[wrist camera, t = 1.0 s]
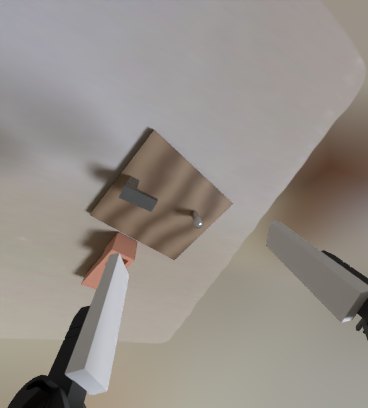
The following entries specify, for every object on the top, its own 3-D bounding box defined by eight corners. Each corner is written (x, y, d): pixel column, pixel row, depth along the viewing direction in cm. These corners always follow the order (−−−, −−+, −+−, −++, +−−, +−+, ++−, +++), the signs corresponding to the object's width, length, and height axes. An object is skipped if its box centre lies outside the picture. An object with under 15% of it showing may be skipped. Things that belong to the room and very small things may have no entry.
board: (91, 212, 33) (89, 214, 32) (154, 129, 28) (154, 129, 27) (173, 256, 43) (174, 260, 42) (230, 201, 38) (233, 203, 37)
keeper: (126, 183, 31) (118, 197, 25) (131, 173, 31) (124, 185, 24) (152, 196, 34) (151, 212, 27) (157, 187, 33) (157, 201, 26)
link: (102, 280, 42) (95, 301, 36) (83, 273, 40) (72, 295, 34) (137, 242, 38) (134, 259, 33) (118, 231, 36) (112, 249, 31)
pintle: (187, 211, 37) (193, 225, 31) (192, 206, 37) (199, 220, 31) (192, 215, 38) (199, 230, 32) (197, 210, 37) (205, 224, 32)
